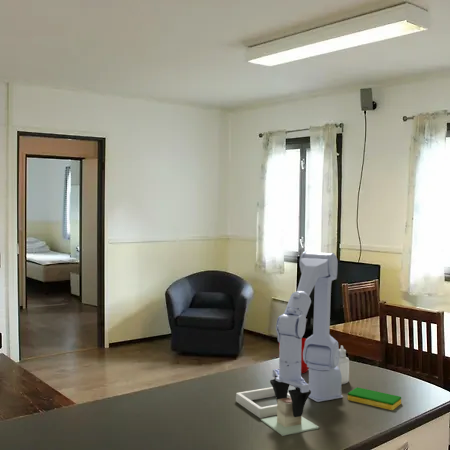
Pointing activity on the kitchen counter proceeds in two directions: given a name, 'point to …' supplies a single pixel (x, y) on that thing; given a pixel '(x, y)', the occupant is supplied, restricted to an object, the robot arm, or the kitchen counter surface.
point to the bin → (246, 402)
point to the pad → (282, 430)
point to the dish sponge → (374, 398)
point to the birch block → (286, 413)
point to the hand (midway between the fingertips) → (289, 411)
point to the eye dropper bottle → (343, 365)
